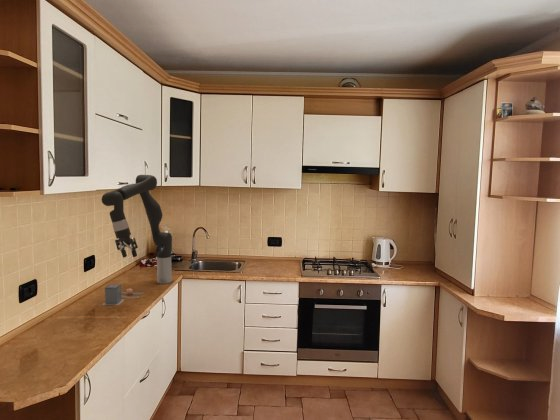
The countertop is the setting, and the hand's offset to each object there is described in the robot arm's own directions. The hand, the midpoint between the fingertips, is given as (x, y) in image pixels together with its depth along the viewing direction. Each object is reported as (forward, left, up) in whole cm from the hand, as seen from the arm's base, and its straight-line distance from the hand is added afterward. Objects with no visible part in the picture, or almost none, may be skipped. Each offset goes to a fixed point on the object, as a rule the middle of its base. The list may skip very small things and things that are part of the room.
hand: (130, 256), depth 206 cm
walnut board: (-14, -6, -27) cm, 31 cm away
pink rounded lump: (-14, -6, -26) cm, 30 cm away
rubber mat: (-1, -10, -27) cm, 29 cm away
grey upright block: (-1, -10, -26) cm, 28 cm away
